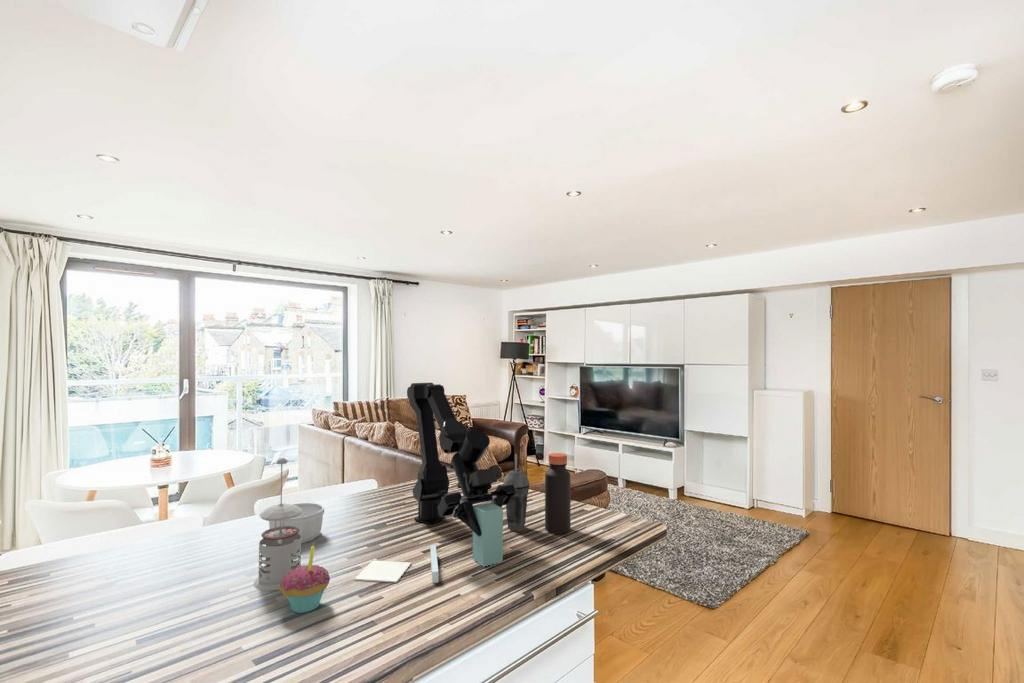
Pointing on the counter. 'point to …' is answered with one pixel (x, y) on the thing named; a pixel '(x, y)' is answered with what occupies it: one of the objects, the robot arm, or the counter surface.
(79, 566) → the counter surface
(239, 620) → the counter surface
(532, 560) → the counter surface
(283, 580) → the cupcake
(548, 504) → the bottle
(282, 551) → the french press
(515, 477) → the beverage cup
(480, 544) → the sage block
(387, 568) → the resting pad
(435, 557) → the acrylic strip
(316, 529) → the ramekin
